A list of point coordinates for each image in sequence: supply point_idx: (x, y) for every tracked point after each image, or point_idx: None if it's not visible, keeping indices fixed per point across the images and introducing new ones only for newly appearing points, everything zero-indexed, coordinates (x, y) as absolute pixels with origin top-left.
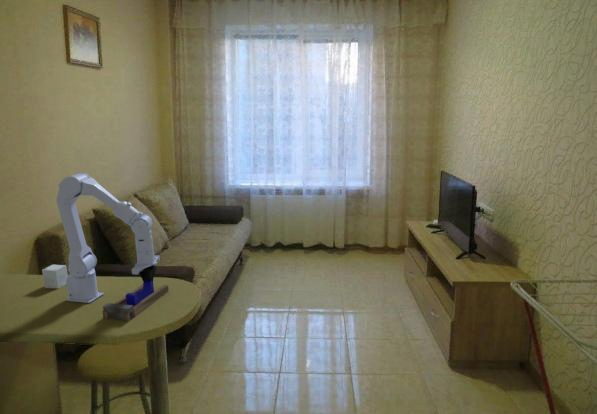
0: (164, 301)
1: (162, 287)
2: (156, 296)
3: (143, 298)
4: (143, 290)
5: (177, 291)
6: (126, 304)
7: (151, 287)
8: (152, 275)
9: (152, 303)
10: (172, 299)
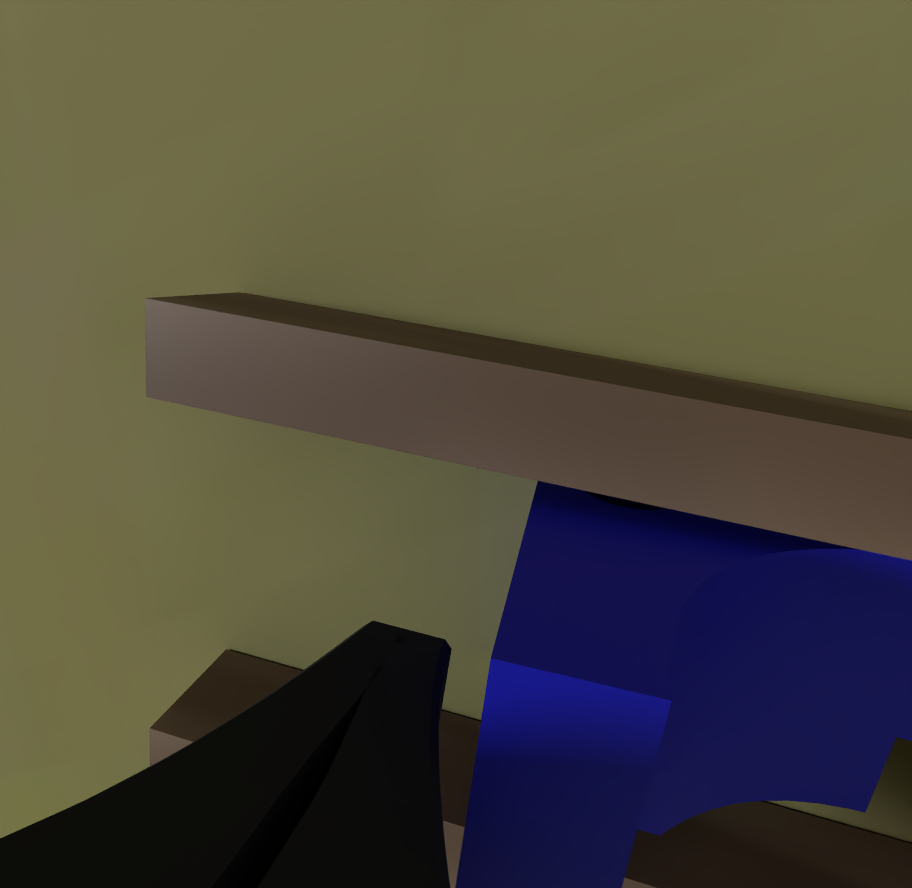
0: (751, 166)
1: (306, 376)
2: (686, 384)
3: (844, 634)
4: (667, 752)
5: (216, 94)
6: (900, 856)
7: (641, 597)
8: (224, 864)
9: (854, 401)
10: (640, 6)
